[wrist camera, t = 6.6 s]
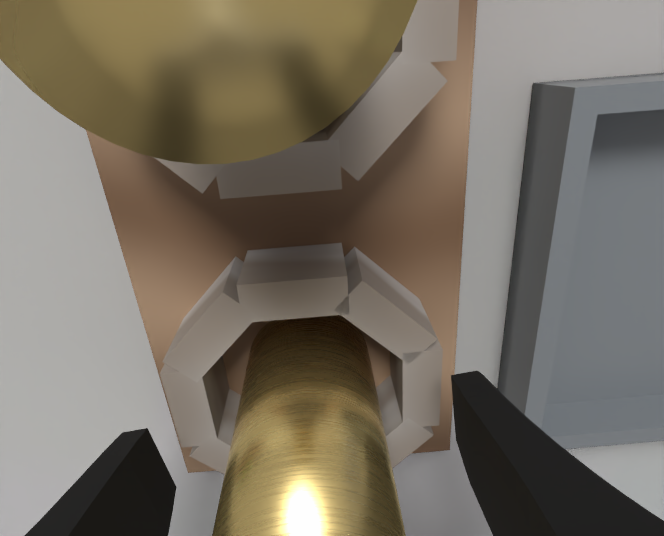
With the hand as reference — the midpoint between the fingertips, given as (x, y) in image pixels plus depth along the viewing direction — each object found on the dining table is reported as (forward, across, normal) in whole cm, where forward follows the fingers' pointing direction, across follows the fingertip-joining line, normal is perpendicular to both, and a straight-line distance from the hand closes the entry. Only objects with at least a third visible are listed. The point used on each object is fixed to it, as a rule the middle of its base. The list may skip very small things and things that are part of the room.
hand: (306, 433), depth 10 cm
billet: (+3, 0, 0) cm, 3 cm away
